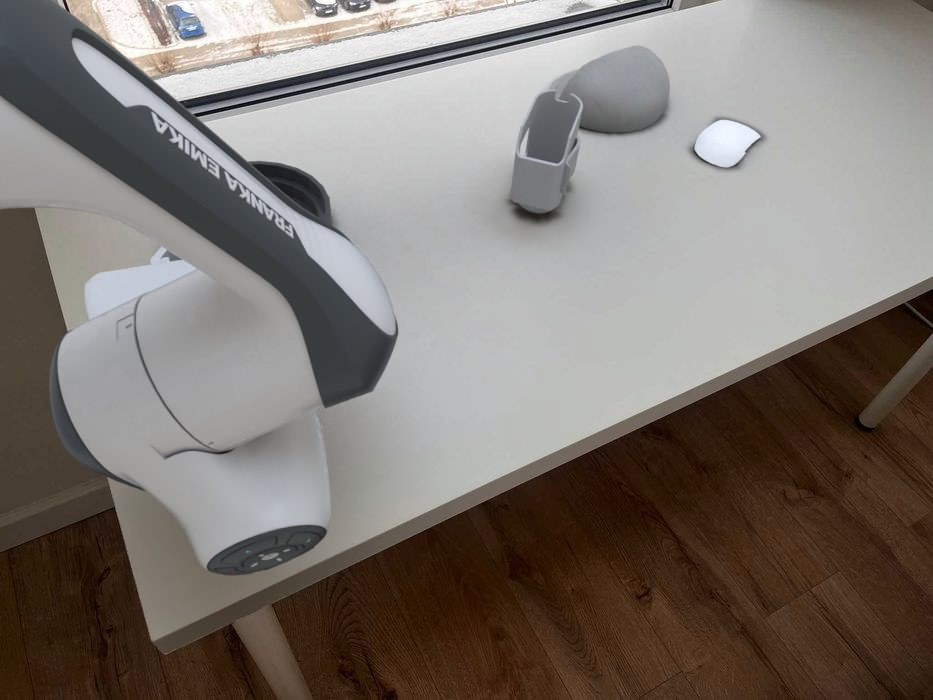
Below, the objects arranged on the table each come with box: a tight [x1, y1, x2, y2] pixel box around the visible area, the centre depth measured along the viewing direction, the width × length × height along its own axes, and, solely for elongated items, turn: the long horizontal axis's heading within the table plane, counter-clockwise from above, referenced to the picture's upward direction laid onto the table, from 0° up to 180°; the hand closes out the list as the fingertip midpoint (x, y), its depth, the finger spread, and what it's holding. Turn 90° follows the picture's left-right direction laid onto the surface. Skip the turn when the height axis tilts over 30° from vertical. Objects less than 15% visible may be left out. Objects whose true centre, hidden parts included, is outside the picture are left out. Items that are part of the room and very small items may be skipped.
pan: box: [179, 160, 334, 260], centre depth 82 cm, size 18×18×4 cm
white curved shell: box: [694, 119, 761, 169], centre depth 100 cm, size 7×12×2 cm, turn 143°
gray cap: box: [549, 44, 671, 134], centre depth 104 cm, size 19×7×16 cm
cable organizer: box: [509, 89, 583, 215], centre depth 86 cm, size 7×12×12 cm, turn 162°
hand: (222, 229), depth 59 cm, fingers closed on figurine, 6 cm apart
